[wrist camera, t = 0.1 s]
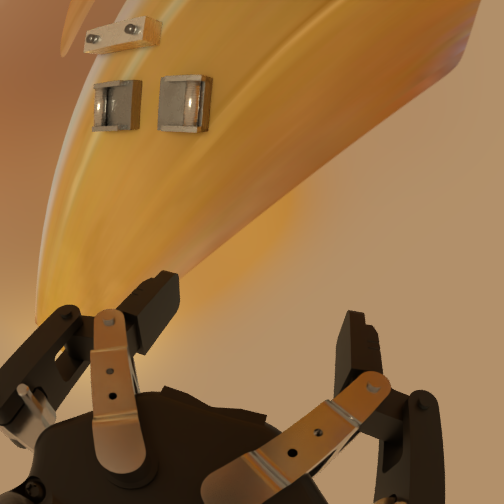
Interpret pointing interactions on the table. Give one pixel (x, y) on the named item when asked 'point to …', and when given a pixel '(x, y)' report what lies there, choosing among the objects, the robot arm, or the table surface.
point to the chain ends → (170, 104)
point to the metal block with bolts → (123, 35)
